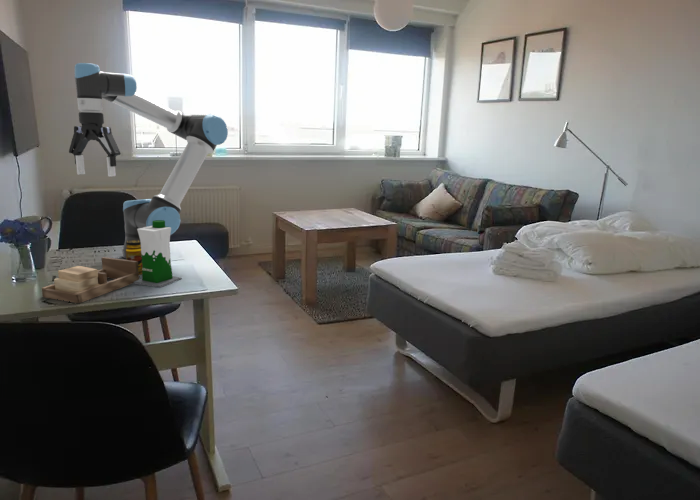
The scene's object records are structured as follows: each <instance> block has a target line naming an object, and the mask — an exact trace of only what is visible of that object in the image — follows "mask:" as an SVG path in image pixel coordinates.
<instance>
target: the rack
mask: <svg viewBox="0 0 700 500" xmlns="http://www.w3.org/2000/svg"><path fill="white" fill-rule="evenodd" d="M101 267H102V268H101V269H98V284H100V285H97V286H94V287H91V288H88V289H86V290H83V291H80V292H77V293H72V292H65V291H59V290H55V283H52V284H50V285H47V286H43V287H41V294H42V298H46V299H50V300H51V299H52V300H57V299H58V300H57V301H63V300H64V301H63V302H69V301H70V303H74V304H75V303H76V304H80V303H83V302H86V301H89V300H93V299H94V298H97V297H100V296H103V295H106V294H108V293H111V292H115V291H116V290H119V289H121V288H125V287H127V286H130V285H132V284H133V282H134V281H137V280H140V276H139V272H138V261H131V260H126V259H124V258H113V257H106V256H103V257H101ZM108 279H111V280H109V281H108Z"/></svg>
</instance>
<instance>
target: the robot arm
mask: <svg viewBox="0 0 700 500" xmlns="http://www.w3.org/2000/svg"><path fill="white" fill-rule="evenodd" d="M74 80H75V89H76V97H77V98H76V99H77V109H78V111H79V113H78V122H79V124H81V125H79V126H77V125H76V126H75V125H74V126H73V135H72V138H71V142H70V145H69V149H68V153H69V154H72V155H73V156H74V164H75V165H76V174H77V175H86V170H85V169H86V168H85V158H84V157H85V156H84V155H83V152H84V150H85V149H86V147H87V145H88V143H89V142H90V141H96V142H98V143H99V145H100V146H101V148H102V149H103V150H104V152H105V153H106V154H107V157H106V166H107V167H106V168H107V177H110V178H111V177H116V175H117V174H116V166H117V159H116V158H117V157H118V156H120V155H121V154H122V153H121V150H120V148H119V146H118V144H117V142H116V140H115V138H114V135H113V132H112V127H111V126H103V125H104V124H105V119H104V118H105V117H104V113H102V112H103V111H104V108H103V107H104V106H103V105H104V104H103V100H106V101H108V102H110V103H113V104H115V105H116V106H119V107H121V108H123V109H125V110H128V111H130V112H132V113H134V114H136V115H138V116H140V117H143V118H145V119H147V120H148V121H151V122H153V123H155V124H157V125H160V126H162V127H164V128H166V130H167V132H169V133H171V134H173V135H175V136H177V137H179V138H181V139H183V140H185V141H187V144H186V146H185V147H184V149H183V151H182V153H181V155H180V156H179V158H178V160H177V162H176V163H175V165H174V167H173V169H172V171H171V172H170V174H169V176H168V178H167V180H166V181H165V183H164V185H163V187H162V189H161V191H160V192H159V193H158V194H155V195H153V196H152V198H145V199H144V198H143V199H142V198H141V199H133V200H132V199H131V200H126V201H124V202H123V205H122V206H123V207H122V212H123V221H124V232H125V233H124V235H125V238H124V241H123V246H122V247H123V248H122V250H121V253H122V254H121V257H122V259H126V249H127V247H126V246H127V244H126V242H127V241H130V240H140V238H139V234H138V230H137V229H139V228H143V227H148V226H153V224H152V221H155V220H164V221H165V226H166V227H171V233H170V236H172V235H173V234H174V233H175V232H176V231H177V230H178V229H179V227H180V225H181V215H180V213H181V212H182V208H181V204H182V202H183V200H184V198H185V196H186V194H187V193H188V191H189V189H190V187H191V185H192V183H193V181H194V180H195V178H196V177H197V174H198V172H199V170H200V169H201V167H202V164H203V163H204V161H205V160H206V158H207V155H211V154H213V152H215V150H216V147H217V146H219V145H222V144H224V143H225V141H226V140H227V138H228V134H229V130H228V127H227V124H226V122H225V120H224V119H223V118H222V117H221V116H219V115H216V114H211V113H208V114H191V113H185V112H184V111H183V112H182V111H181V110H179V109H178V110H177V109H176V110H173V109H171V108H169V107H167V106H165V105H163V104H161V103H159V102H157V101H155V100H153V99H151V98H149V97H147V96H145V95H143V94H141V93H139V92H137V88H138V87H137V86H138V85H137V81H136V78H135V77H134V75H131V74H129V73H128V74H127V73H124V72H123V73H119V72H108V71H107V72H106V71H101V69H100V66H99V65H98V64H96V63H90V62H89V63H88V62H77V63H76V64H75V65H74Z"/></svg>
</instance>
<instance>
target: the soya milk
mask: <svg viewBox="0 0 700 500" xmlns="http://www.w3.org/2000/svg"><path fill="white" fill-rule="evenodd" d="M152 224H153V226H148V227H143V228H139V229H137V230H138V234H139V238H140V242H141V254H142V275H141V279H142V280H144V281H148V282H153V283H159V282H163V281H166V280H169V279H172V278H173V276H174V275H173V271H172V270H173V269H172V261H171V247H170V245H171V244H170V242H171V241H170V240H171V235H170V233H171V227H166V226H165V221H164V220H155V221H152Z"/></svg>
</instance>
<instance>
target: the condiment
mask: <svg viewBox="0 0 700 500" xmlns="http://www.w3.org/2000/svg"><path fill="white" fill-rule="evenodd" d="M126 244H127V246H126V247H127V249H126V258H125V260H131V261H138V272H139V277H140V276H141V277H142V254H141V242H140V240H130V241H127V242H126Z"/></svg>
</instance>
